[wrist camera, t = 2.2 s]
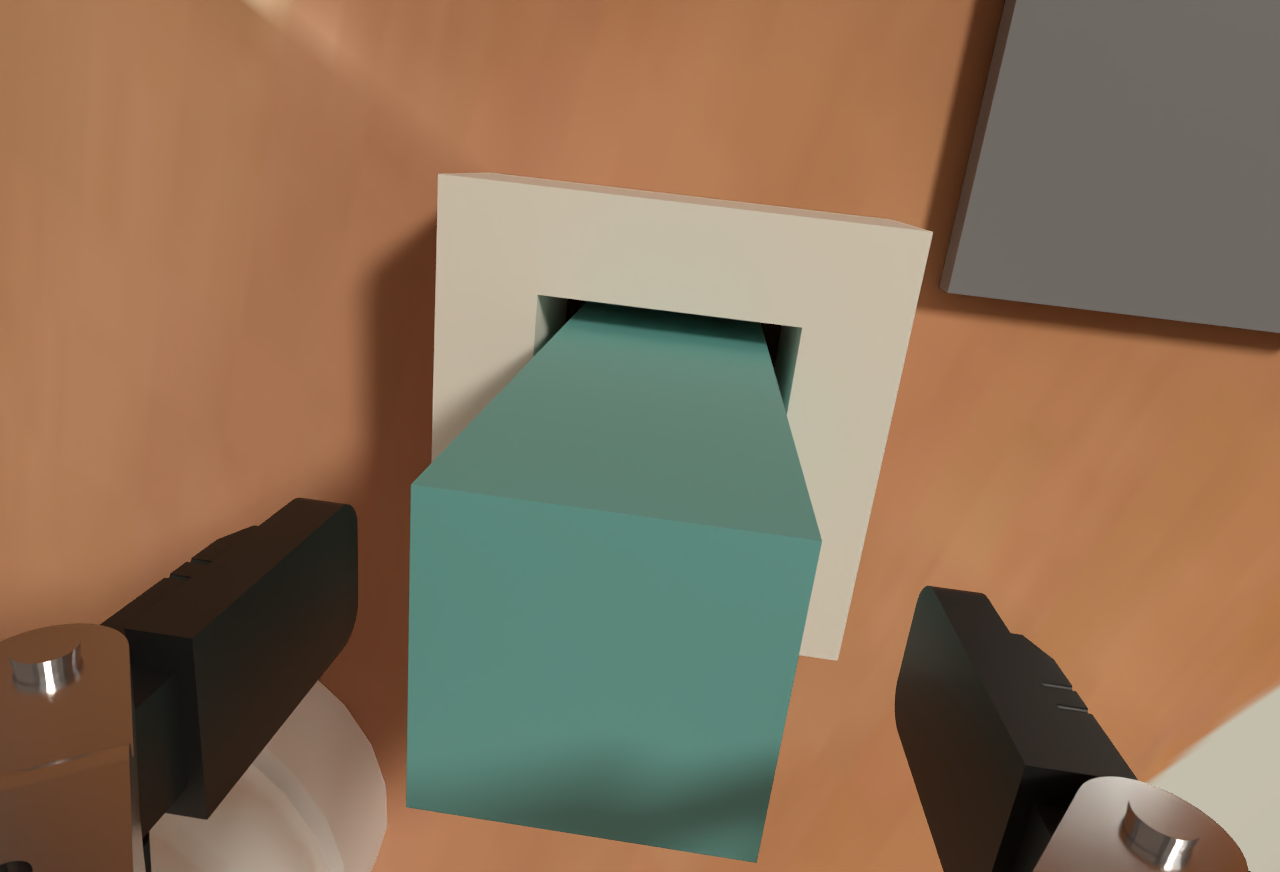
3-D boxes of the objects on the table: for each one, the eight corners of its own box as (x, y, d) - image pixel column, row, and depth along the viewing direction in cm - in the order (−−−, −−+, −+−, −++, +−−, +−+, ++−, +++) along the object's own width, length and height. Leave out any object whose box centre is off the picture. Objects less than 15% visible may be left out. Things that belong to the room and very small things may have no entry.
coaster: (1036, -135, 17) (1051, -149, 16) (1477, -94, 16) (1513, -106, 16) (939, 288, 20) (947, 292, 19) (1310, 332, 19) (1334, 339, 19)
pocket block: (490, 172, 20) (438, 173, 16) (891, 219, 19) (933, 231, 16) (474, 530, 23) (428, 601, 20) (817, 578, 23) (837, 660, 19)
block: (591, 296, 21) (410, 484, 9) (759, 318, 21) (822, 541, 8) (577, 453, 22) (406, 806, 10) (734, 475, 22) (755, 863, 10)
